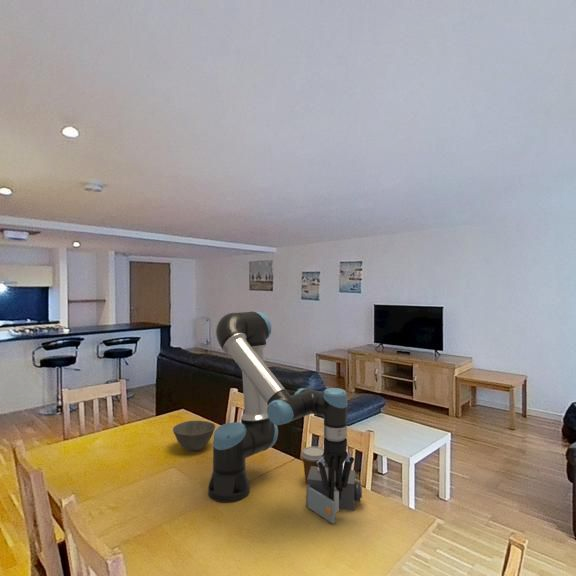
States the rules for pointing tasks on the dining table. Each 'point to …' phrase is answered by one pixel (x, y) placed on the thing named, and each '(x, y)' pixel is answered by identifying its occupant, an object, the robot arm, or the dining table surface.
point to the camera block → (347, 495)
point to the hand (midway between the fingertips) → (334, 509)
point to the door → (320, 504)
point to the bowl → (194, 434)
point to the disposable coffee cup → (311, 458)
